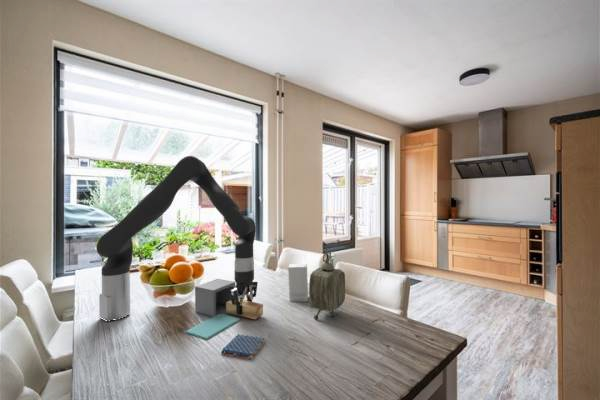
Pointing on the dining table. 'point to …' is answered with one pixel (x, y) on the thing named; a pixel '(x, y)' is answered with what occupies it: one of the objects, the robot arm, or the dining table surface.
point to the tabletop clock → (326, 288)
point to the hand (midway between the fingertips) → (244, 311)
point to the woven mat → (243, 346)
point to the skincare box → (298, 282)
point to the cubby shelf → (212, 295)
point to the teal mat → (212, 326)
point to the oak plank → (246, 309)
